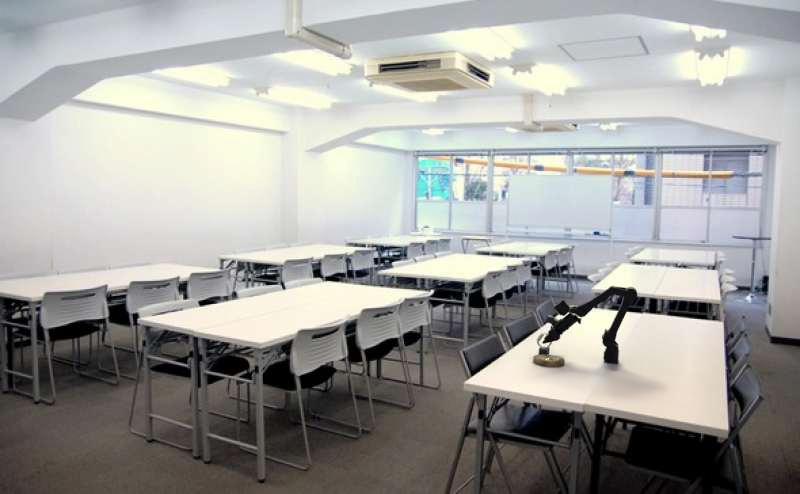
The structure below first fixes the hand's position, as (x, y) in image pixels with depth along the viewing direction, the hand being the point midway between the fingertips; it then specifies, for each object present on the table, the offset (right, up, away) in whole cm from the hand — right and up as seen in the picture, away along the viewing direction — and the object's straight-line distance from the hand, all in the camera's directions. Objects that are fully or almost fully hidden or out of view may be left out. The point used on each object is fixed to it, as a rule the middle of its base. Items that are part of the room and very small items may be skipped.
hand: (543, 341), depth 297 cm
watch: (0, -7, +1) cm, 7 cm away
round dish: (-1, -8, -16) cm, 18 cm away
